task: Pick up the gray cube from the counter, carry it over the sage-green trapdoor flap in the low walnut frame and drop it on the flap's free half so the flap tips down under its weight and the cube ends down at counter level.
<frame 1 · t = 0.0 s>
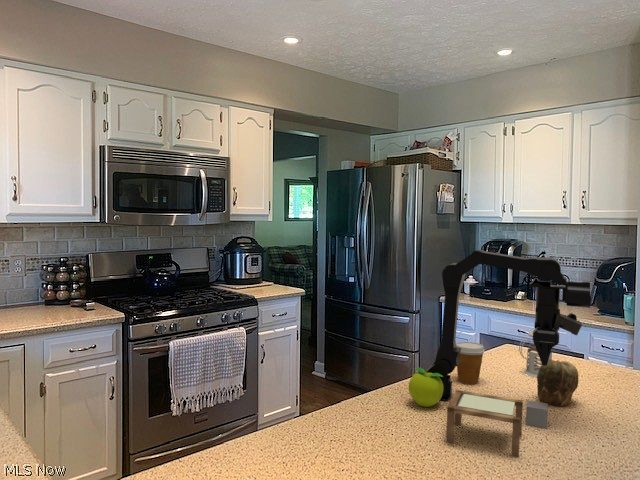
hand: (544, 360, 137), 15 cm above the countertop, tool pointing down, fingers open, 9 cm apart
french press: (536, 374, 172), on the countertop
disposable coffee cup: (468, 381, 163), on the countertop
fruit: (425, 405, 142), on the countertop
gray cube: (536, 423, 131), on the countertop
trapdoor: (485, 405, 121), point 8 cm above the countertop, hinge at 0.0°
frame: (485, 438, 121), on the countertop
shell: (556, 402, 147), on the countertop
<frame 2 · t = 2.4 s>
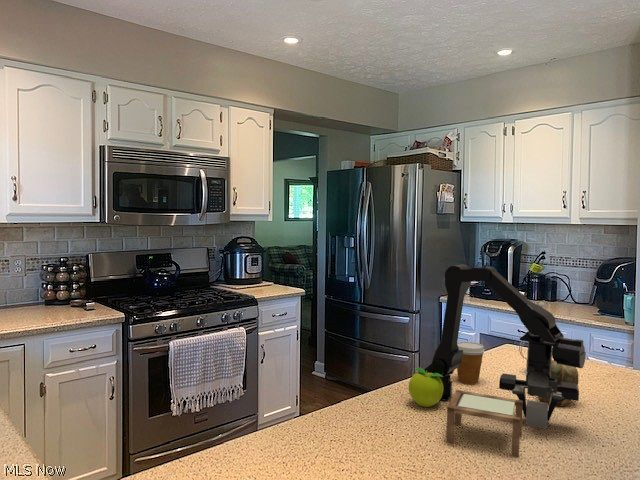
hand: (536, 418, 131), 1 cm above the countertop, tool pointing down, fingers closed on gray cube, 5 cm apart
gray cube: (536, 423, 131), on the countertop, touching gripper
everything else where it was.
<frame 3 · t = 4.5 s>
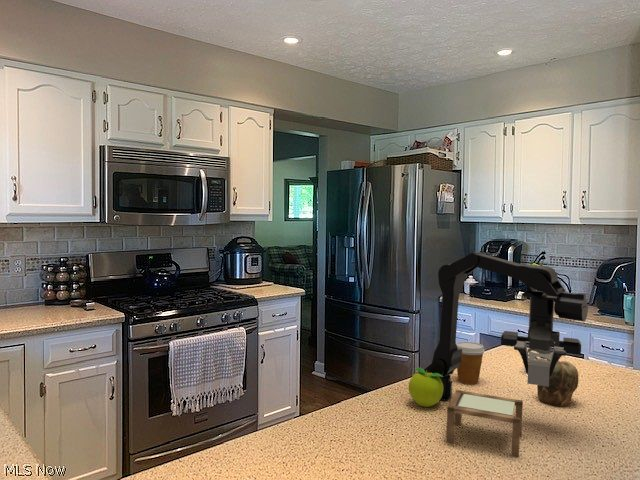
hand: (538, 374, 130), 13 cm above the countertop, tool pointing down, fingers closed on gray cube, 5 cm apart
gray cube: (538, 382, 130), point 11 cm above the countertop, touching gripper
everything else where it was.
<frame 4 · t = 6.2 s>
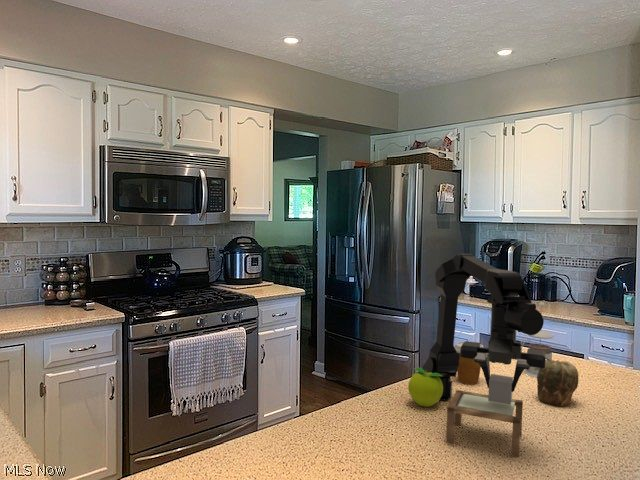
hand: (500, 389, 120), 13 cm above the countertop, tool pointing down, fingers closed on gray cube, 5 cm apart
fruit: (424, 405, 142), on the countertop, touching arm
gray cube: (500, 399, 120), point 10 cm above the countertop, touching gripper
everything else where it was.
when the fingers open (12 cm above the countertop, at t = 6.6 s): gray cube drops 7 cm and tips over, resting on trapdoor.
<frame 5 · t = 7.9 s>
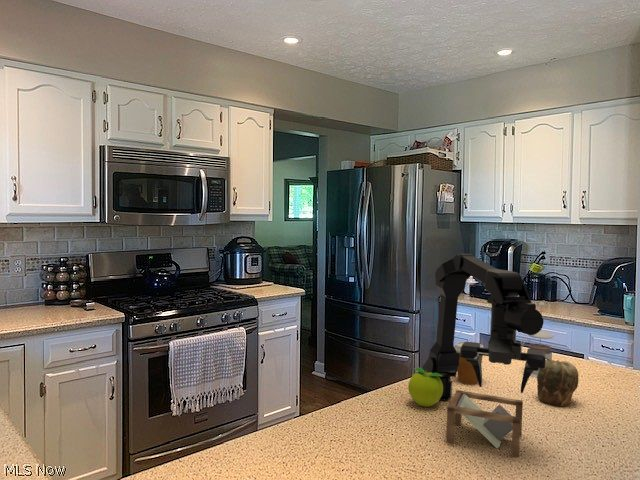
hand: (500, 389, 120), 12 cm above the countertop, tool pointing down, fingers open, 9 cm apart
gray cube: (492, 429, 121), point 3 cm above the countertop, tilted 39°, touching trapdoor
trapdoor: (479, 419, 122), point 4 cm above the countertop, hinge at -39.3°, touching gray cube
everything else where it was.
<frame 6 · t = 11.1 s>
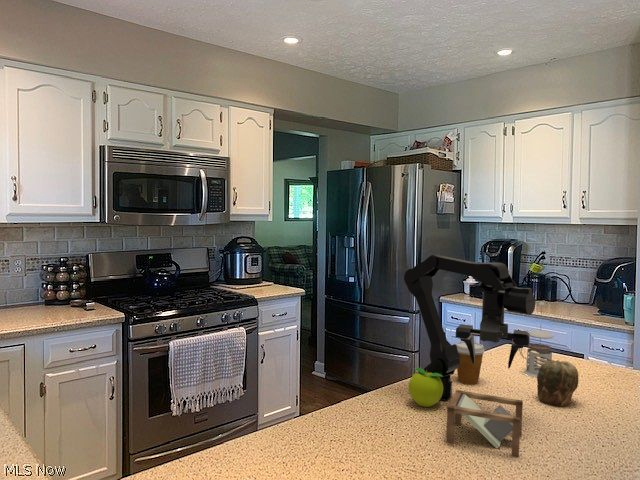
hand: (491, 365, 137), 13 cm above the countertop, tool pointing down, fingers open, 9 cm apart
fruit: (424, 405, 142), on the countertop
trapdoor: (479, 419, 122), point 4 cm above the countertop, hinge at -39.5°, touching gray cube
everything else where it was.
at the end: gray cube point 2.5 cm above the countertop; gray cube inside the target area (2.6 cm from its centre), point 2.5 cm above the countertop; the gripper is holding nothing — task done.
